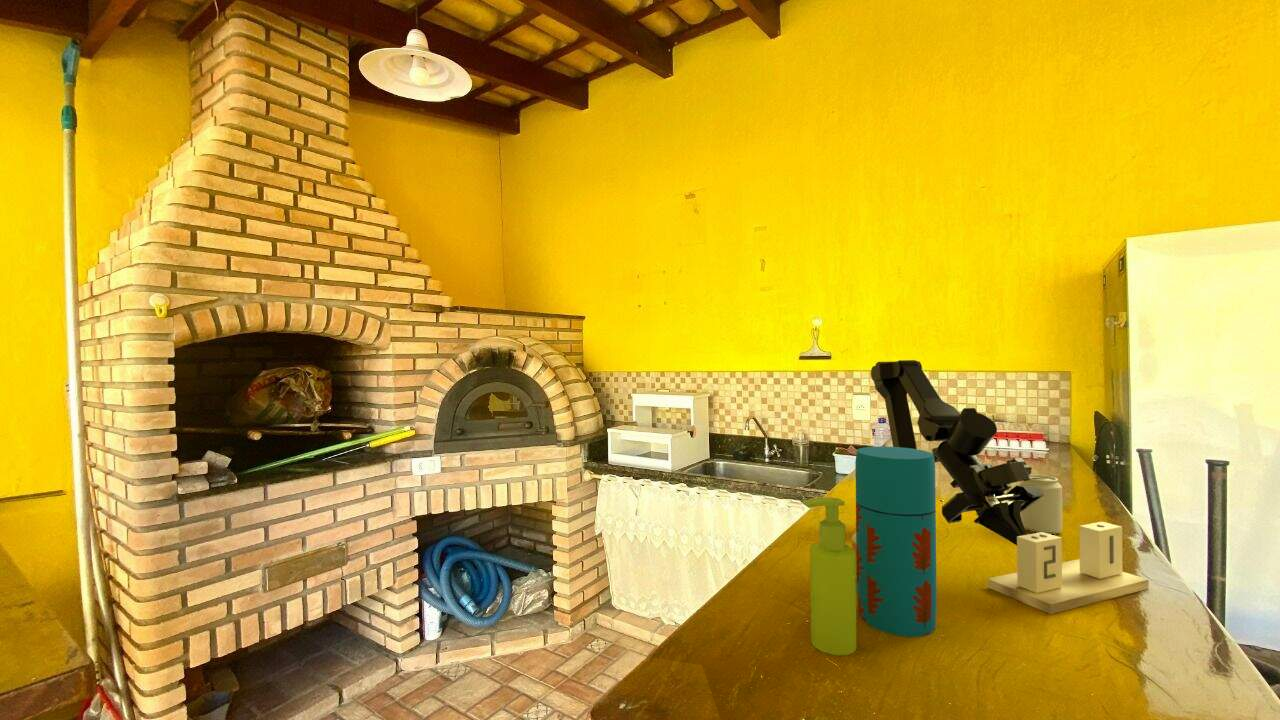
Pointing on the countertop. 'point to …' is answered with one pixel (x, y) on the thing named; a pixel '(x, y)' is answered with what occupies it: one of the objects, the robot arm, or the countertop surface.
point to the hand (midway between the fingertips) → (1027, 548)
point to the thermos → (896, 539)
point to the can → (1044, 506)
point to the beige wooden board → (1070, 589)
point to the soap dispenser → (832, 583)
